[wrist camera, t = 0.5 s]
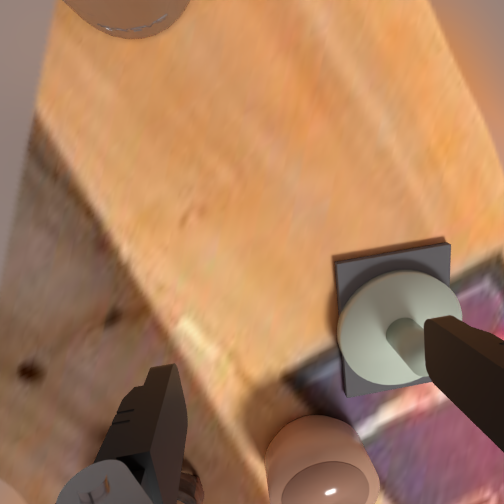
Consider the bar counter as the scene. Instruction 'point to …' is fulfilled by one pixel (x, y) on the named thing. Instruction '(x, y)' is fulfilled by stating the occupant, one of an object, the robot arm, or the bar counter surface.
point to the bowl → (319, 464)
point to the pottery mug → (190, 489)
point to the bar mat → (369, 267)
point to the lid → (392, 325)
